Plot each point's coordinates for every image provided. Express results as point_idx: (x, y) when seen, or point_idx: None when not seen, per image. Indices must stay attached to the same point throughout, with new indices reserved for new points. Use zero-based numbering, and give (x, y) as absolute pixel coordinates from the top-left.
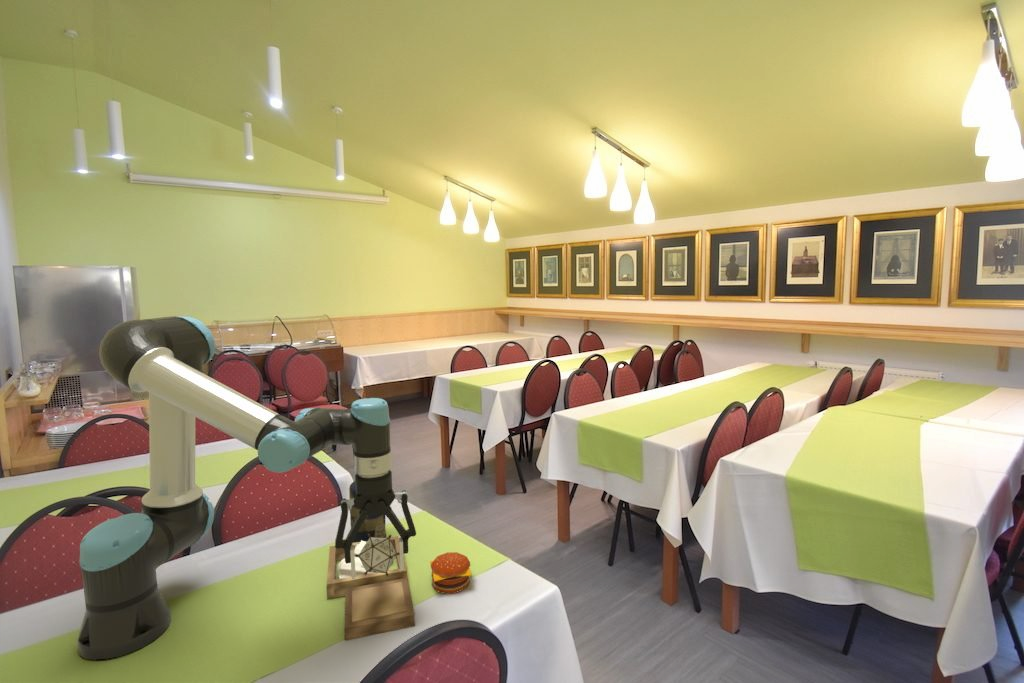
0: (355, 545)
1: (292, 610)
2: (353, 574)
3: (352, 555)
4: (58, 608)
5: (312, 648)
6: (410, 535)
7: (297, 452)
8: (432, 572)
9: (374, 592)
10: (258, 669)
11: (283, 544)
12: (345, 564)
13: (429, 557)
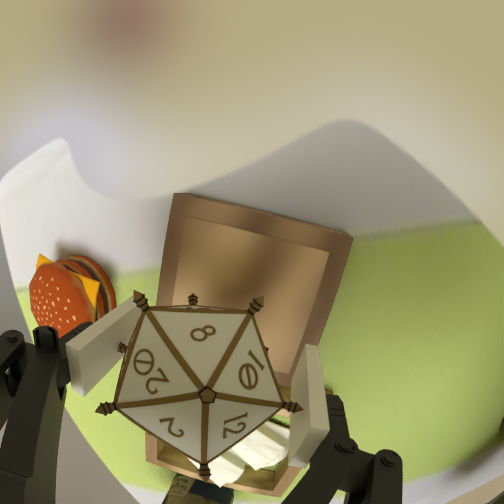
0: (234, 483)
1: (399, 385)
2: (312, 354)
3: (318, 407)
4: None
5: (410, 247)
6: (29, 348)
7: None
8: (94, 312)
9: None
10: (488, 245)
11: None
12: (272, 451)
13: (109, 390)
